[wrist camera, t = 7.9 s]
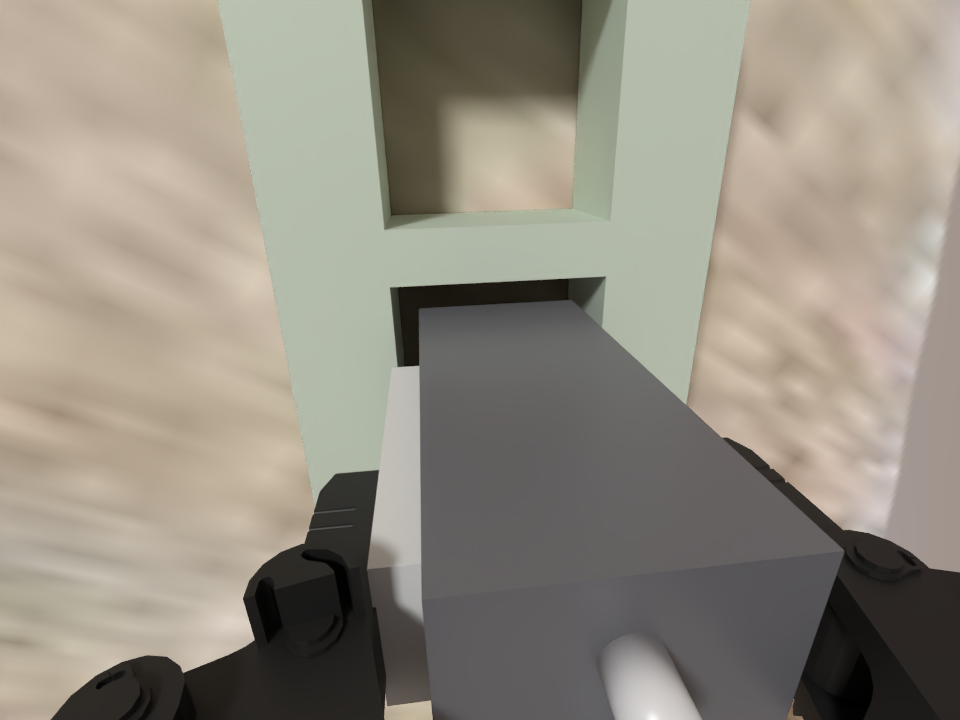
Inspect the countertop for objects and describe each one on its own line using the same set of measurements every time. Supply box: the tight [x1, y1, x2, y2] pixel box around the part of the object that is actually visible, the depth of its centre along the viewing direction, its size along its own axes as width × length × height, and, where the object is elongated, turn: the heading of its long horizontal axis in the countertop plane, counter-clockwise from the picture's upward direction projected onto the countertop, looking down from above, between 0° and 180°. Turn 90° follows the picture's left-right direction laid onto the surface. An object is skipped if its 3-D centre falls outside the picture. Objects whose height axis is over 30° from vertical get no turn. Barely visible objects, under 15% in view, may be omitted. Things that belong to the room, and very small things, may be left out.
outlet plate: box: [218, 0, 750, 506], centre depth 15 cm, size 12×16×4 cm
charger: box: [419, 300, 845, 720], centre depth 10 cm, size 4×4×11 cm
